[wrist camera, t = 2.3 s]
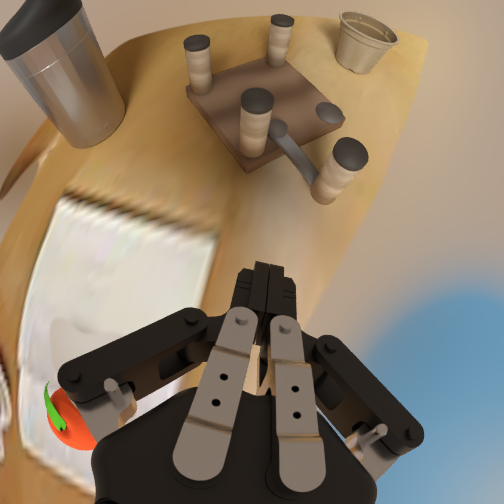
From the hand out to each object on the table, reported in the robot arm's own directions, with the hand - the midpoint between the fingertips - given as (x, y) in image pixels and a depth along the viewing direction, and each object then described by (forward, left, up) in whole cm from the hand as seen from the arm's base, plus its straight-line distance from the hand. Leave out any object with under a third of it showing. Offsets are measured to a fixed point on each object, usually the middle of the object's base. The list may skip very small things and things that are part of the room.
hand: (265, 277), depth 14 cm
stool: (-18, +13, -12) cm, 25 cm away
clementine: (+1, -22, -12) cm, 25 cm away
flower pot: (-21, +33, -12) cm, 41 cm away
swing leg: (-8, +11, -9) cm, 16 cm away
